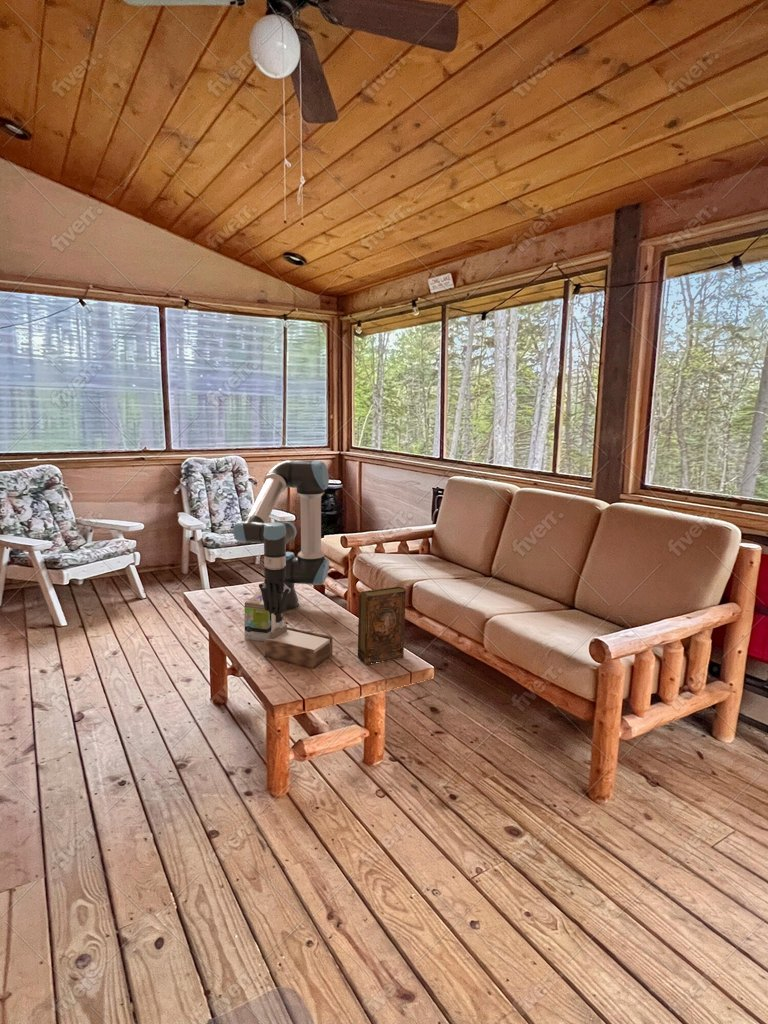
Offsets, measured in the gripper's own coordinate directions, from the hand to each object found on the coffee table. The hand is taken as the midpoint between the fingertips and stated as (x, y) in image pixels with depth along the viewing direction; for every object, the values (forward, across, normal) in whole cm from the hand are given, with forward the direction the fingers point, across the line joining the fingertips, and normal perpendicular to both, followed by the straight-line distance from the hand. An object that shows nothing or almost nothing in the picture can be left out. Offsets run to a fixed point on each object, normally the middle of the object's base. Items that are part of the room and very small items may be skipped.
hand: (275, 630), depth 210 cm
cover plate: (+3, +10, 0) cm, 11 cm away
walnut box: (+8, +10, 0) cm, 13 cm away
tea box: (+8, -13, +11) cm, 19 cm away
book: (+8, +37, +13) cm, 40 cm away
